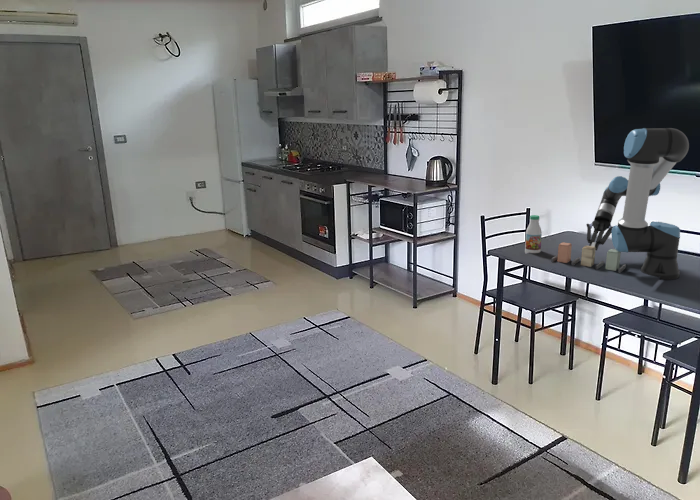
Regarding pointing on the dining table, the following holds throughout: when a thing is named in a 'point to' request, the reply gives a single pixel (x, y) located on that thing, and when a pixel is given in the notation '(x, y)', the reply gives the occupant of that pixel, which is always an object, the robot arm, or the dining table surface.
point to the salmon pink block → (564, 252)
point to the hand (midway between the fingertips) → (590, 255)
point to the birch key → (588, 256)
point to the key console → (596, 265)
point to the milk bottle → (533, 236)
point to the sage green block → (613, 260)
